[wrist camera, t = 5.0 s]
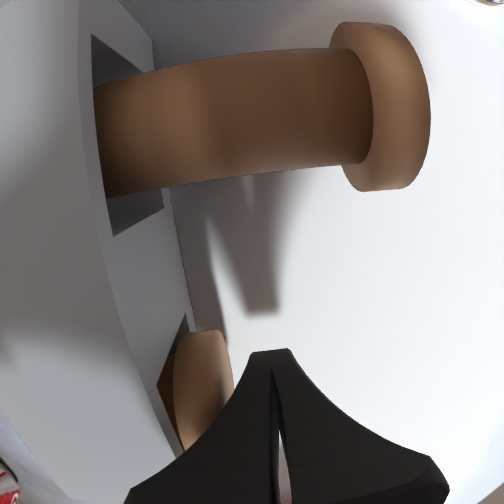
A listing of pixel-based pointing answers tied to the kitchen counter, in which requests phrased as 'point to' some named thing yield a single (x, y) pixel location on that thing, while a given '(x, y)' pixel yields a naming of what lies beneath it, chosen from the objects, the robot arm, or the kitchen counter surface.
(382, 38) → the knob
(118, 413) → the mount block
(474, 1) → the pill bottle
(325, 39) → the kitchen counter surface
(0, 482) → the soda can
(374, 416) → the kitchen counter surface
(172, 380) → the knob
